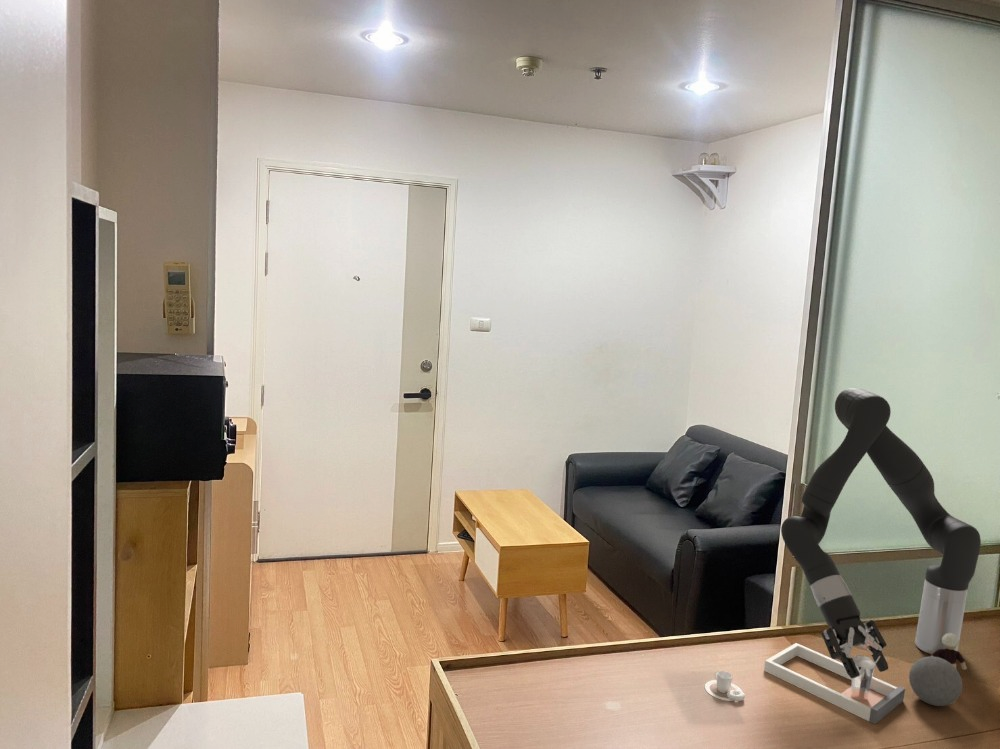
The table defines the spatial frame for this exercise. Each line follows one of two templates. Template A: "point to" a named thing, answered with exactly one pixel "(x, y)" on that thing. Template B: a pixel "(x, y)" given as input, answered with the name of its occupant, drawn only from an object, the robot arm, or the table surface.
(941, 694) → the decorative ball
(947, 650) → the grandmother figurine
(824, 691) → the tray
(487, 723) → the table surface
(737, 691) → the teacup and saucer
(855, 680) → the milkshake
